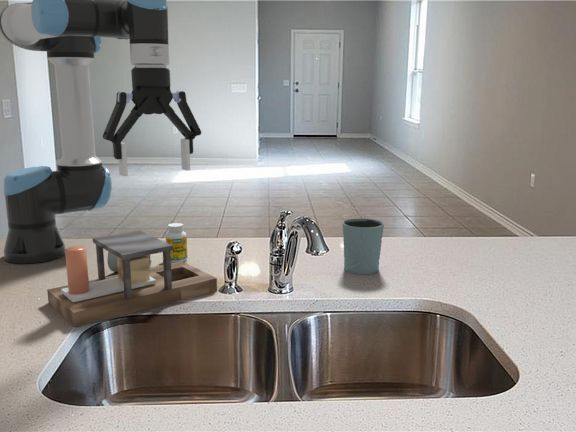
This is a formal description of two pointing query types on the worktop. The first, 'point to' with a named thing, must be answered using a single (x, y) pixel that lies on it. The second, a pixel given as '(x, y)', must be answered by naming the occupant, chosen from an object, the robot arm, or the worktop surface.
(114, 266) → the ceramic mug
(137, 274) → the maple block
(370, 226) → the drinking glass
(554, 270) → the worktop surface
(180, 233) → the supplement bottle
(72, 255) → the white plank with peg
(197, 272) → the tunnel deck
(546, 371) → the worktop surface
